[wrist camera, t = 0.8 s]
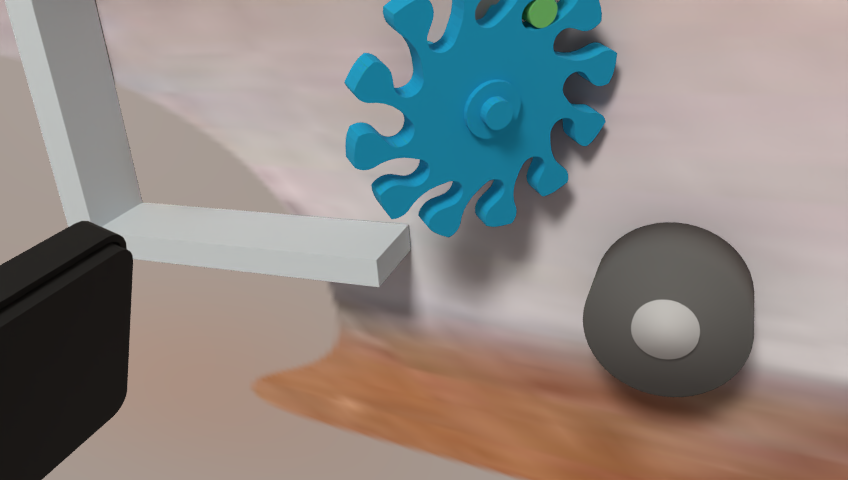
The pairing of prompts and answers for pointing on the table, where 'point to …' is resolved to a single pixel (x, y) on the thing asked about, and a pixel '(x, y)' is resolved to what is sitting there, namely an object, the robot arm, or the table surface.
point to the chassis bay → (117, 183)
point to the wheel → (671, 310)
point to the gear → (478, 104)
